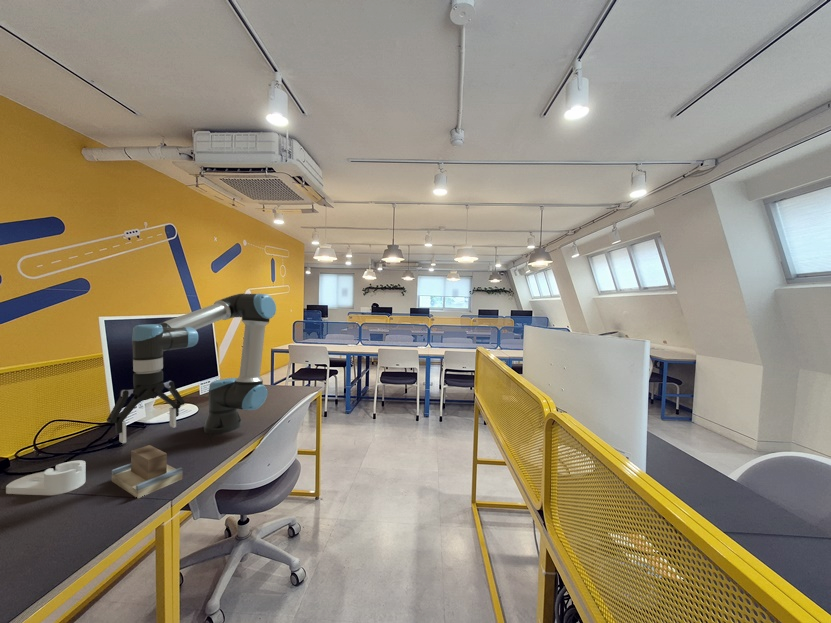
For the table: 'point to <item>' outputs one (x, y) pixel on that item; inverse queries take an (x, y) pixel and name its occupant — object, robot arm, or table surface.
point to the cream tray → (140, 485)
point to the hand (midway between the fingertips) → (149, 433)
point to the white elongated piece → (51, 480)
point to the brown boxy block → (148, 462)
